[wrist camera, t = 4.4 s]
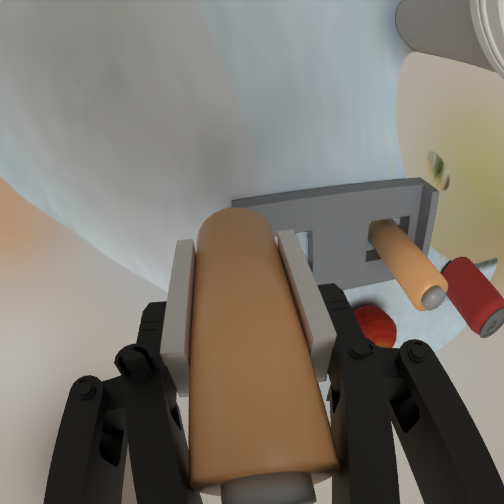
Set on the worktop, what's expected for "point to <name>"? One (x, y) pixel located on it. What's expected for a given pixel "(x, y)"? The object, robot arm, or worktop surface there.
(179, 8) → the worktop surface
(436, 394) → the robot arm
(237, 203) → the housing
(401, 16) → the coffee cup
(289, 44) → the worktop surface
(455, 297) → the beer can
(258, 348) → the peg
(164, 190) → the worktop surface
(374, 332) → the apple
